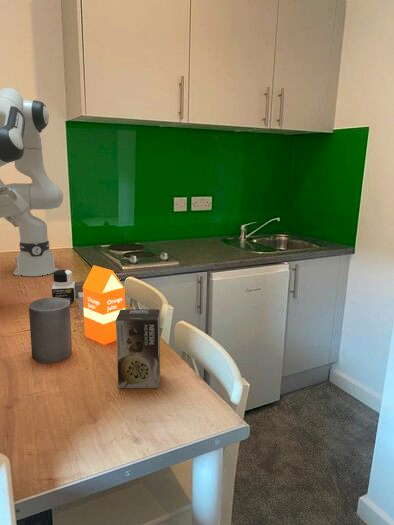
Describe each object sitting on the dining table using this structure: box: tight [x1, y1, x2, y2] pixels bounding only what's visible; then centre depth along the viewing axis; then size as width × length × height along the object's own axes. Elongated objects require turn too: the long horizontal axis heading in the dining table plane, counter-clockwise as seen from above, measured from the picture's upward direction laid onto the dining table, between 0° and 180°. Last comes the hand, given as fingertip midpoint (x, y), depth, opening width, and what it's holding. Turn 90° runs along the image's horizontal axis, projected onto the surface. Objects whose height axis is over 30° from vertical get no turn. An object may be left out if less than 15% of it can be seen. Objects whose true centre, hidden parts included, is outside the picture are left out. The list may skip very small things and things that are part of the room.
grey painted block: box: [78, 292, 84, 312], centre depth 132 cm, size 5×5×5 cm
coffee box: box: [115, 308, 161, 389], centre depth 86 cm, size 9×6×16 cm
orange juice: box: [83, 265, 126, 346], centre depth 109 cm, size 8×9×20 cm
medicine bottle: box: [51, 269, 77, 308], centre depth 134 cm, size 7×7×12 cm
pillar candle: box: [28, 296, 73, 364], centre depth 98 cm, size 10×10×15 cm
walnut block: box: [74, 280, 86, 300], centre depth 144 cm, size 5×5×5 cm
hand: (19, 225), depth 127 cm, fingers closed
